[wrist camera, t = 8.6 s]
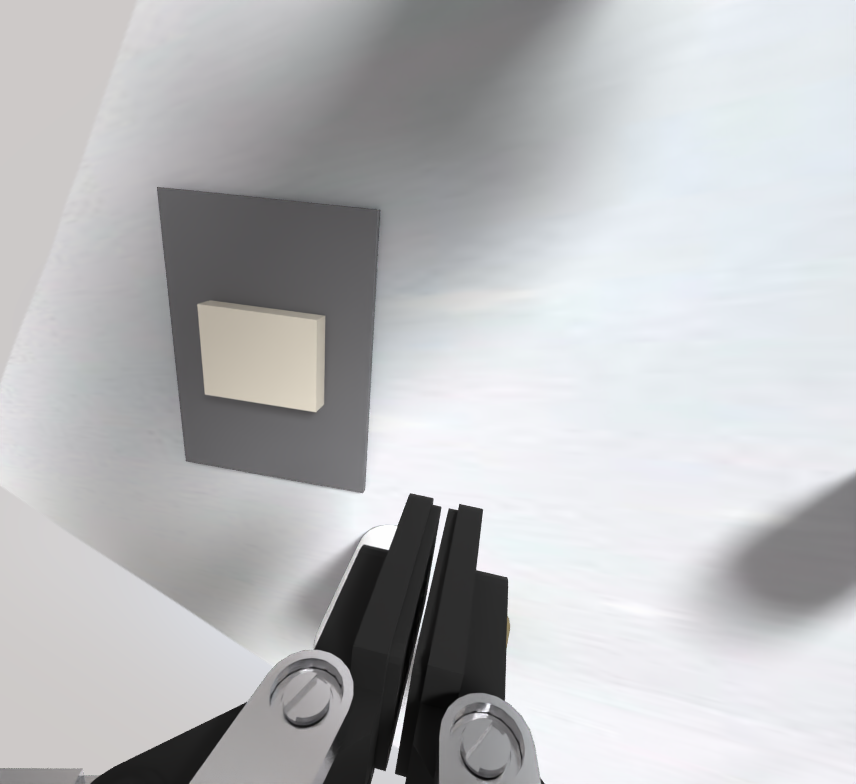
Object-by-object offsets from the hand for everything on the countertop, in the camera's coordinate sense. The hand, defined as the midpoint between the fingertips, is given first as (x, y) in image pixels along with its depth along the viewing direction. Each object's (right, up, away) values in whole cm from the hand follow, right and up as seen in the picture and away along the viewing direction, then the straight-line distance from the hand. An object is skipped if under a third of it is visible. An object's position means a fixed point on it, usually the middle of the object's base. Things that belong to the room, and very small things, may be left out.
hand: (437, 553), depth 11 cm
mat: (-12, +7, +26) cm, 29 cm away
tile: (-8, +6, +24) cm, 26 cm away
